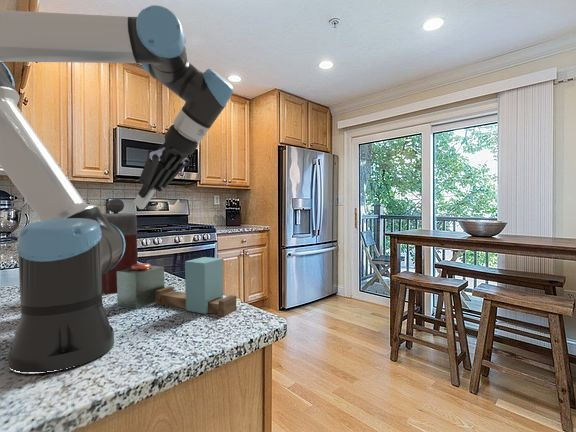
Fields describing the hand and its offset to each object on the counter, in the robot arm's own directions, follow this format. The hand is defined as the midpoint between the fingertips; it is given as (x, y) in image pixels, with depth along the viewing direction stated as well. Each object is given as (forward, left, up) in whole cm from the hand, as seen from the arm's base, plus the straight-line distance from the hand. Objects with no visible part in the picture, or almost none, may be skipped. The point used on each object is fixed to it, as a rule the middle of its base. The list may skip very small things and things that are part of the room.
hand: (138, 205), depth 82 cm
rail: (0, -15, -26) cm, 30 cm away
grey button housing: (+1, 0, -26) cm, 26 cm away
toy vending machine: (+13, +18, -26) cm, 34 cm away
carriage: (-1, -19, -26) cm, 32 cm away
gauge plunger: (+1, 0, -22) cm, 22 cm away
